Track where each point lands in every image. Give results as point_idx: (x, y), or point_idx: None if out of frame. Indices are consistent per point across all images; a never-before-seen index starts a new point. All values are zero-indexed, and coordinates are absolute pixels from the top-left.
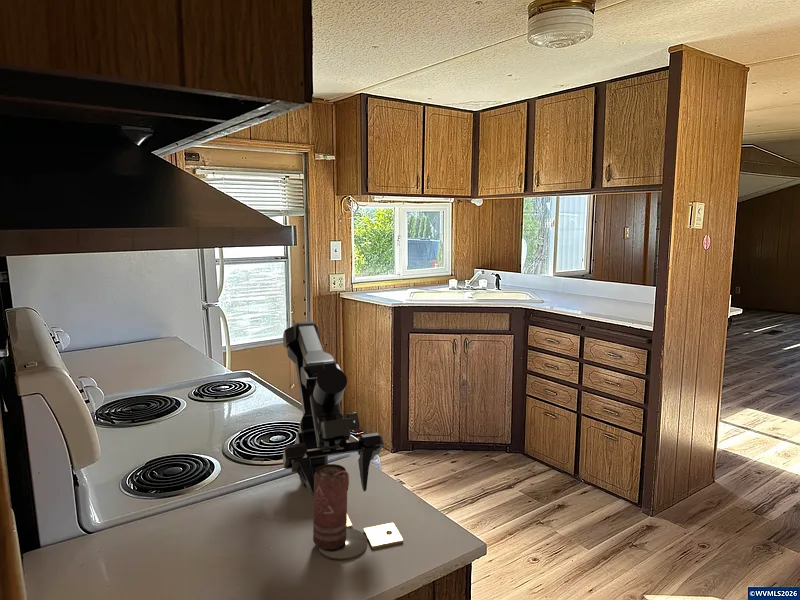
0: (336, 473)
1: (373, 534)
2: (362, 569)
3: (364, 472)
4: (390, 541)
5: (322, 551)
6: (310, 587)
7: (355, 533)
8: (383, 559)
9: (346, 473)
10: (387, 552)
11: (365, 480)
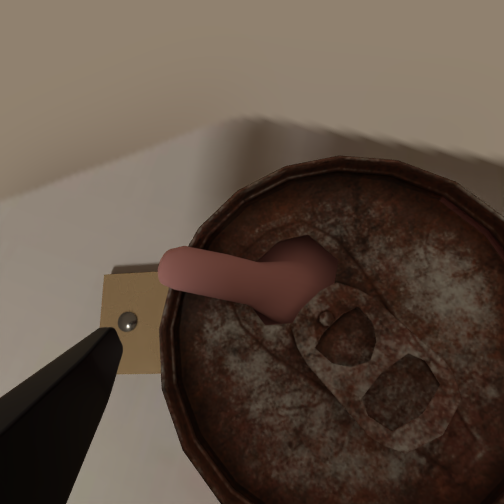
0: (281, 279)
1: None
2: None
3: (19, 407)
4: (139, 276)
5: None
6: None
7: None
8: (183, 221)
9: (176, 249)
10: (164, 246)
11: (64, 361)
